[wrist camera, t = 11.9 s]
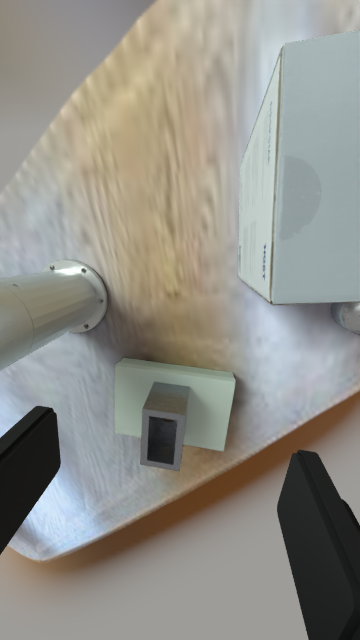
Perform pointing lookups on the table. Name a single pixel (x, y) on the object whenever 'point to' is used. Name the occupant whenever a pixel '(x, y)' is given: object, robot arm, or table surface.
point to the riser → (203, 404)
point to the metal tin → (347, 315)
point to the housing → (164, 425)
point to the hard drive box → (305, 178)
